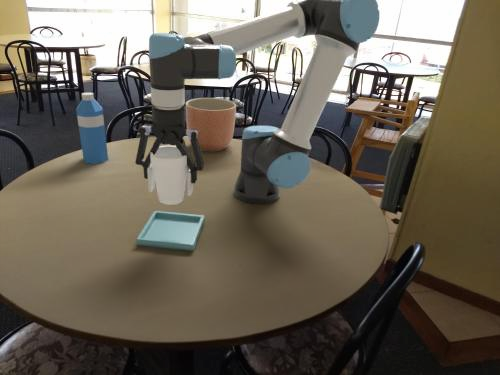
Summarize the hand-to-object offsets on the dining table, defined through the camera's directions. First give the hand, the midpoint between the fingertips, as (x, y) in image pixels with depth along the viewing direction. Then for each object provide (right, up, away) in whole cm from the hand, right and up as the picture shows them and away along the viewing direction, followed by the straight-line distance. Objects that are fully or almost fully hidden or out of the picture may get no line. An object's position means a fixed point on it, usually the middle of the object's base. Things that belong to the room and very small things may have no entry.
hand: (170, 191), depth 96 cm
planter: (+3, +19, +67) cm, 69 cm away
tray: (-1, -11, +6) cm, 13 cm away
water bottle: (-39, +12, +47) cm, 62 cm away
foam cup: (0, -2, +1) cm, 2 cm away
